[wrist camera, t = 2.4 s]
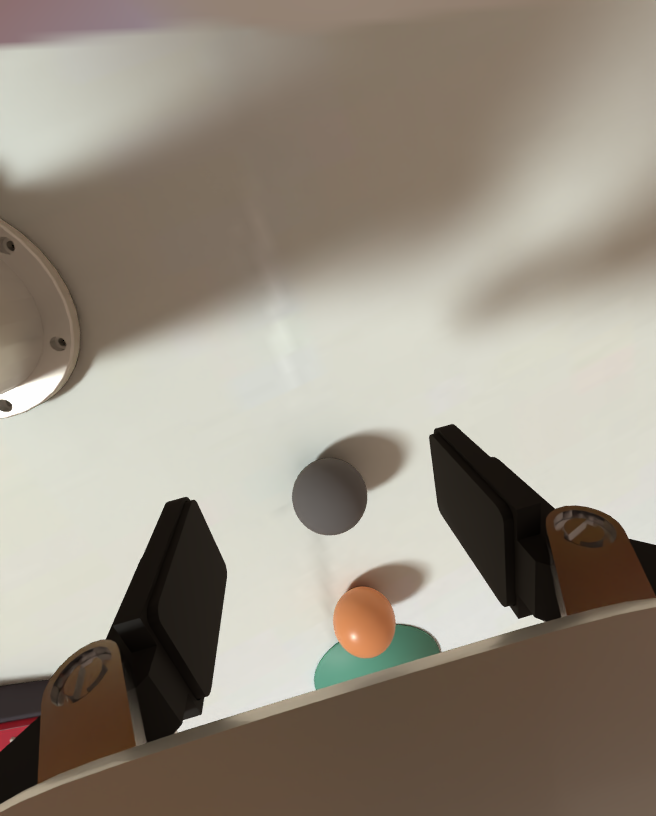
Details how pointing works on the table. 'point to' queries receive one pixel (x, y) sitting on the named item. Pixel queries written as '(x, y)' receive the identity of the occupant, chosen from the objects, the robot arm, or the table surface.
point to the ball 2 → (364, 622)
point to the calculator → (19, 708)
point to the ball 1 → (329, 496)
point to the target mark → (401, 650)
